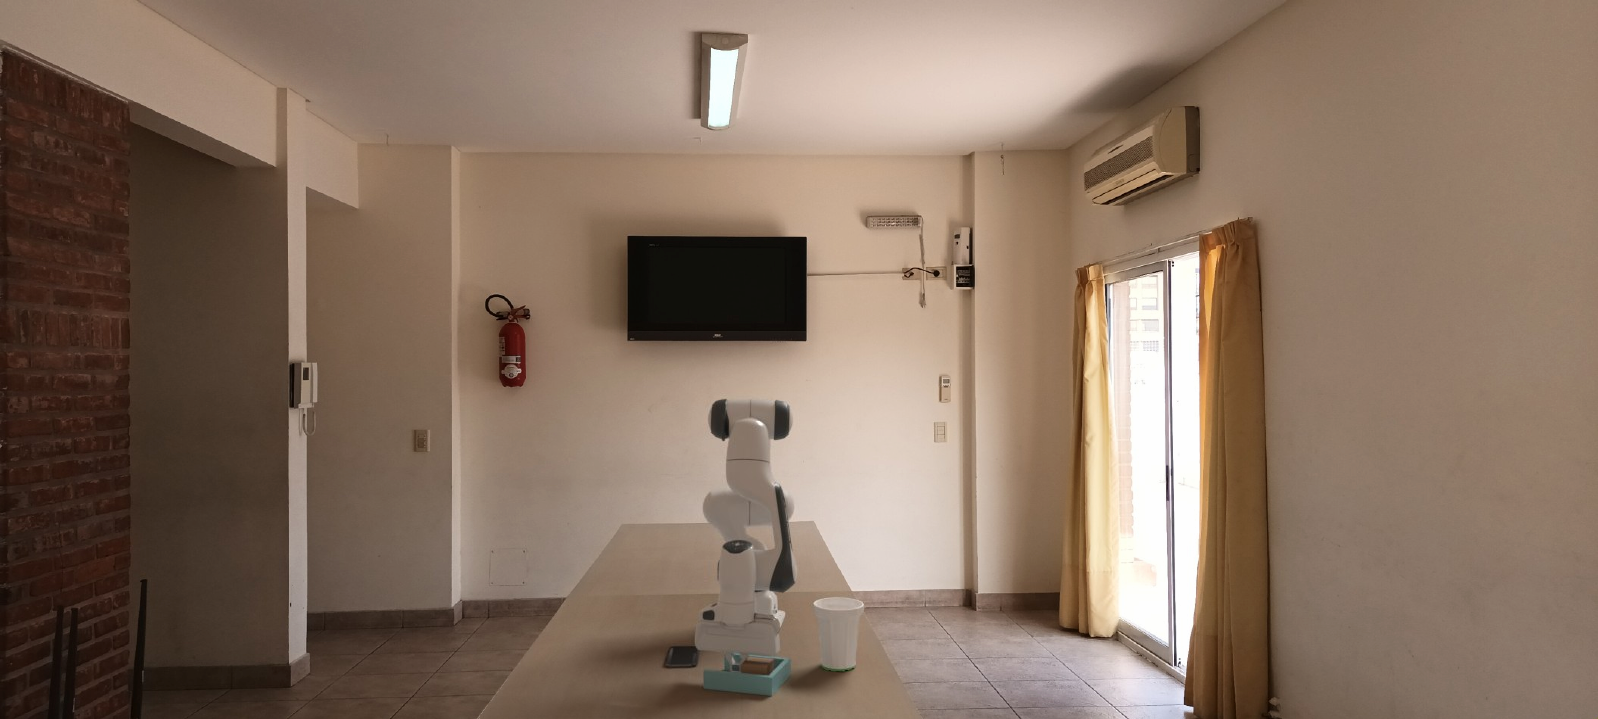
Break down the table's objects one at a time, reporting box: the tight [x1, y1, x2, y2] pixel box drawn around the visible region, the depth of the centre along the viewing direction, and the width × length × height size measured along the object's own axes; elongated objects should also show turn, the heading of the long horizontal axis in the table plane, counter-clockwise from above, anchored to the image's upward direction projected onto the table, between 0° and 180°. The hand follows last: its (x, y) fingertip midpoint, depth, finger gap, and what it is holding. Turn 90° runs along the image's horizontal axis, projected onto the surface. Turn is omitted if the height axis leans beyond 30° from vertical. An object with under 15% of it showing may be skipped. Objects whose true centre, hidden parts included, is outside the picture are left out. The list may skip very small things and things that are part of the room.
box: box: [702, 652, 792, 697], centre depth 214 cm, size 14×16×4 cm
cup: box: [812, 596, 865, 672], centre depth 225 cm, size 12×12×15 cm
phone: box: [664, 645, 701, 669], centre depth 231 cm, size 8×1×15 cm
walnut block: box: [741, 657, 774, 676], centre depth 212 cm, size 6×6×5 cm
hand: (737, 671), depth 214 cm, fingers closed
